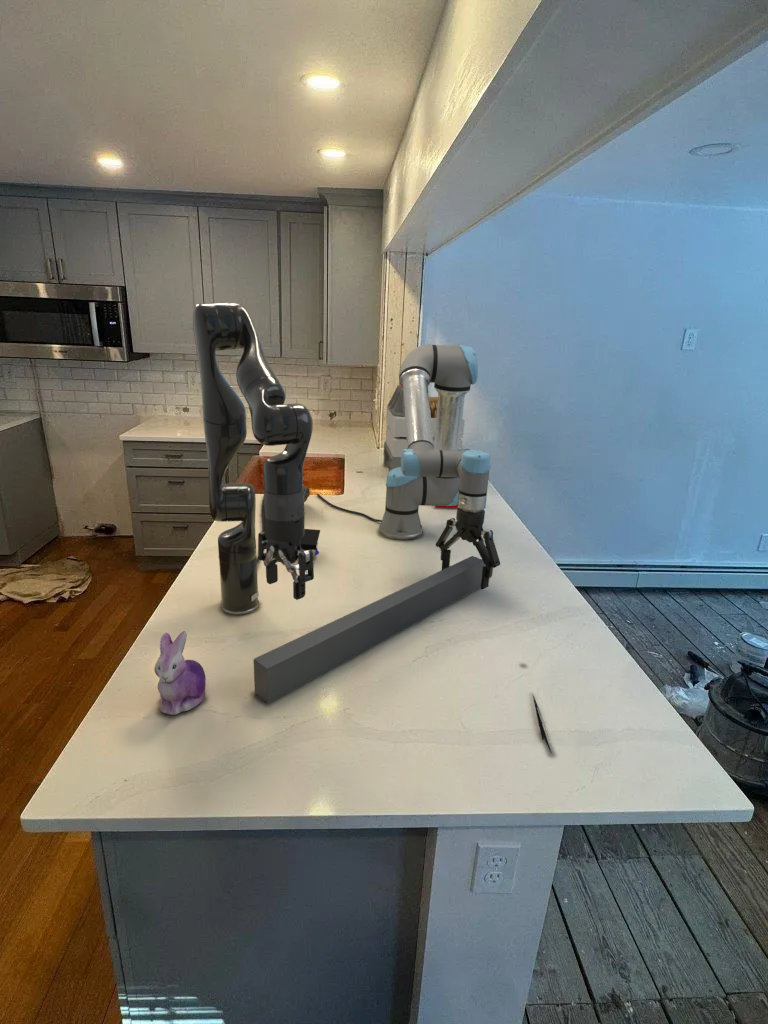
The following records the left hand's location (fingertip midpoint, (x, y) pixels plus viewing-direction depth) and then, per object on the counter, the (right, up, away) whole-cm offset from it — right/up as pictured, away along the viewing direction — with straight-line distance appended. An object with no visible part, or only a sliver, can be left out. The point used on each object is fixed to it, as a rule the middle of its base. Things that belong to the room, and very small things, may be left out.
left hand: (285, 590), depth 111 cm
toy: (+44, +21, +130) cm, 138 cm away
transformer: (+36, +34, +164) cm, 172 cm away
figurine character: (-4, +1, +66) cm, 67 cm away
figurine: (-20, -22, +1) cm, 30 cm away
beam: (+20, -14, +29) cm, 38 cm away
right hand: (+42, -4, +49) cm, 65 cm away
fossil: (-15, +15, +106) cm, 108 cm away
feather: (+50, -24, +4) cm, 56 cm away
